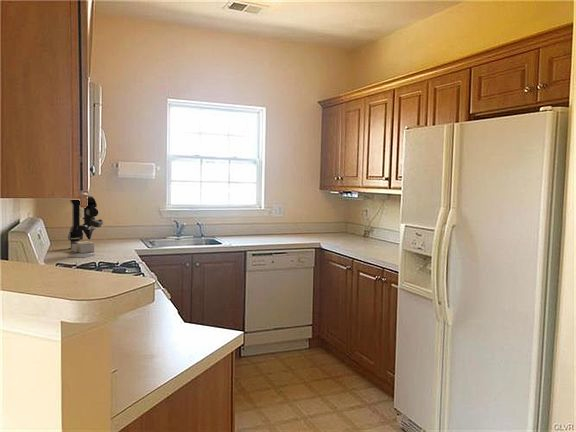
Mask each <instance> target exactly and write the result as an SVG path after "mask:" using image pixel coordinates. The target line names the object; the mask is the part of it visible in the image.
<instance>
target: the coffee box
mask: <svg viewBox="0 0 576 432" xmlns="http://www.w3.org/2000/svg"><path fill="white" fill-rule="evenodd" d="M70 248H71V249H70V251H72V252H75V253H77V254H90V253H94V252H95V242H91V241H87V240H80V241H75V242H71V241H70Z"/></svg>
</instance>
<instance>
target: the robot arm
mask: <svg viewBox="0 0 576 432" xmlns="http://www.w3.org/2000/svg"><path fill="white" fill-rule="evenodd" d="M69 202H70V204H71V205H72V206H71V207H72V209H71V211H72V218H71V219H72V220H71V221H72V222H71V224H72V225H71V227H70V228H69V233H68V235H67V240H68V241H70V243H71V242H75V241H83V238H84V237H83V236H84V234H85V236H86V239H87V240H91V238H92V234H93V231H95V230H96V228H101V227H102V225H104V222H103V219H101V218H100V219H96V217H97V216H98V215H99V210H98V209H97V207H98V206H97V201H96V200H95V198H94V197H93V196H92V195H88V206H87V207H86V208H84V207H83V217H82V220H83V223H82V224H80V219H81V218H80V217H81V216H80V215H81V214H80V211H81V208H80V207H81V206H80V205H81V204H80V201H79V200H70V199H69ZM83 232H84V233H83ZM68 249H69V250H71V247H69V248H68Z"/></svg>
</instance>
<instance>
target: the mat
mask: <svg viewBox="0 0 576 432" xmlns="http://www.w3.org/2000/svg"><path fill="white" fill-rule="evenodd" d="M95 255H96V254H95V253H75V254H72V255H68V256H67V258H74V259H75V258H78V259H79V258H83V259H85V258H89V257H93V256H95Z"/></svg>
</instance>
